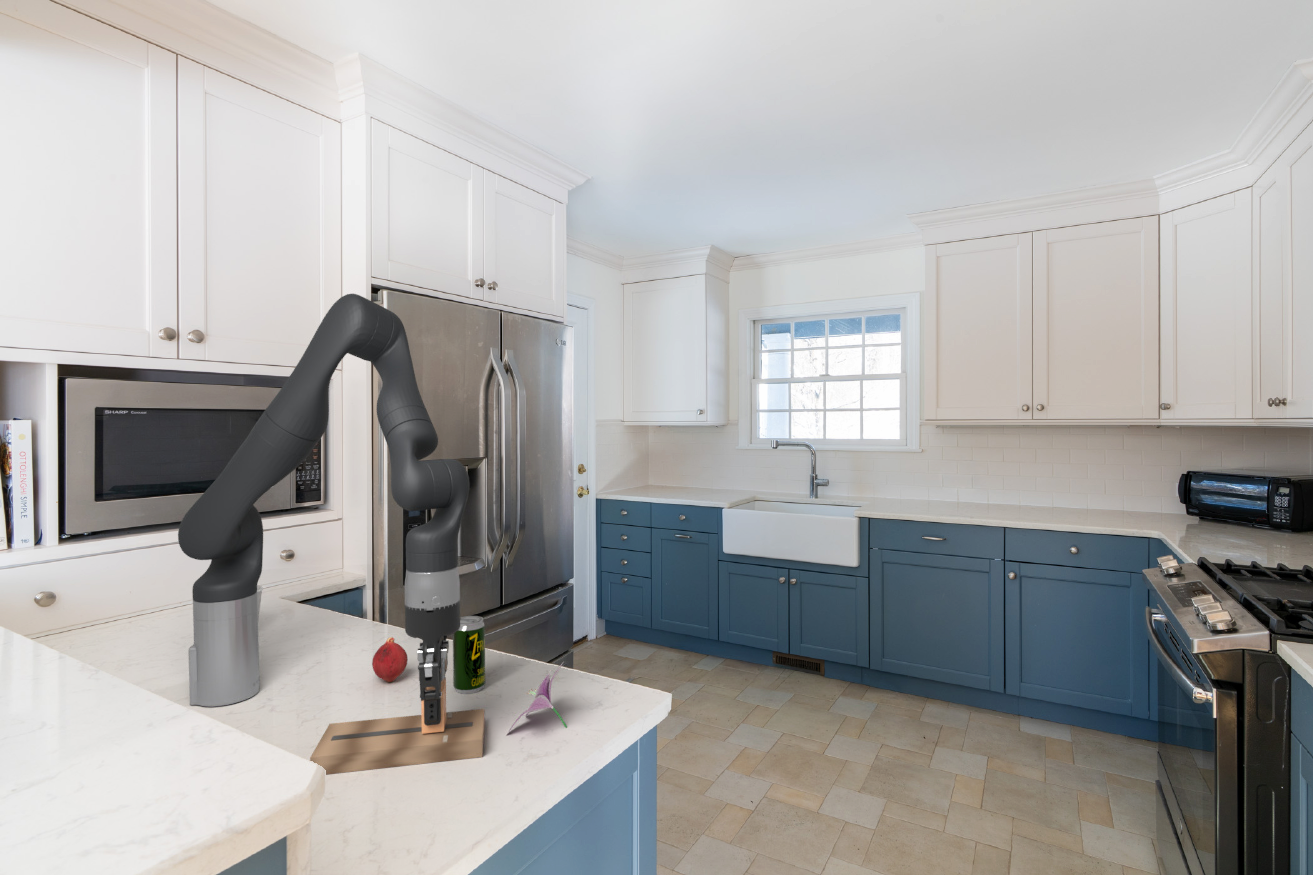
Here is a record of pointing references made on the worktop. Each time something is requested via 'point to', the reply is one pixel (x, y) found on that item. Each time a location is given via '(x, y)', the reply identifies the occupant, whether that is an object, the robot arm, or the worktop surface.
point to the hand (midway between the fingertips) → (434, 716)
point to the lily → (542, 698)
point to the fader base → (399, 742)
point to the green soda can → (469, 655)
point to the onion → (389, 660)
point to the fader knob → (441, 725)
